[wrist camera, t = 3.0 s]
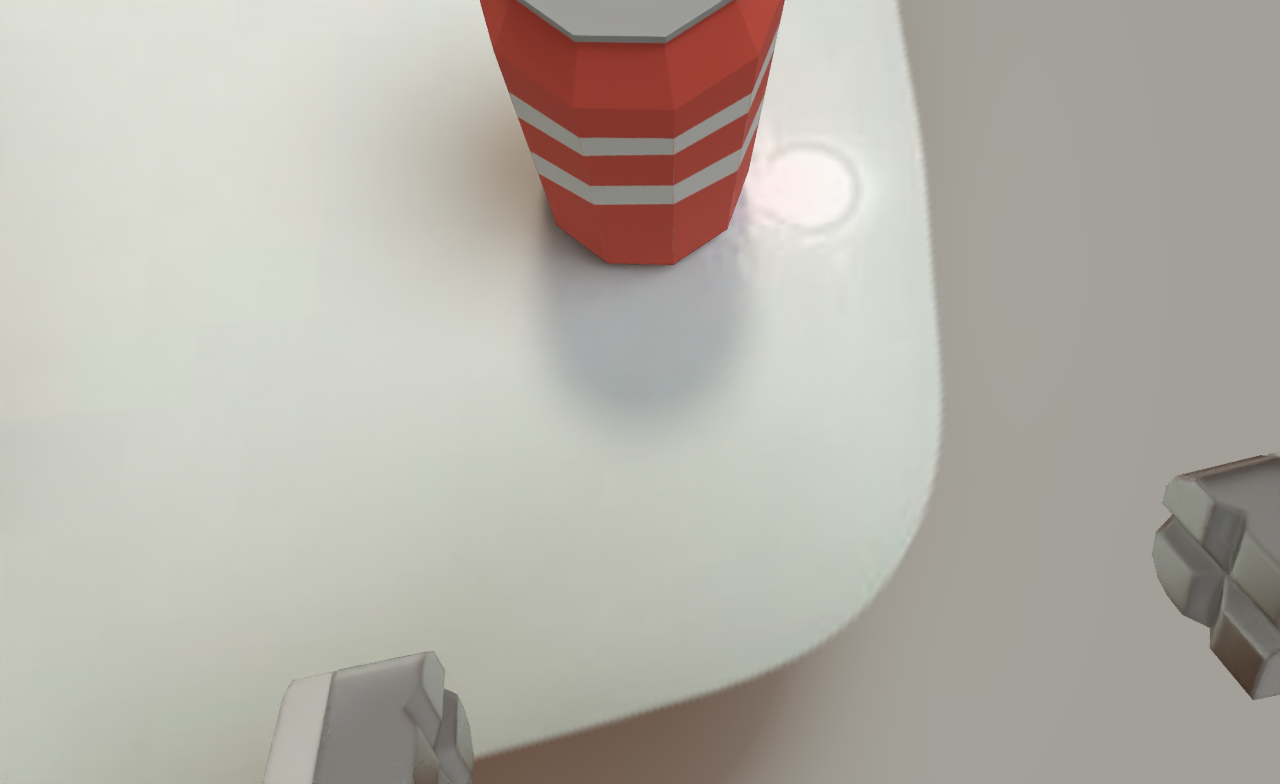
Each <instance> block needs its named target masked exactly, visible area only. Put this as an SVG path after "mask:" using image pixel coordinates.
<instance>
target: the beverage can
mask: <svg viewBox="0 0 1280 784" xmlns="http://www.w3.org/2000/svg"><path fill="white" fill-rule="evenodd" d="M784 1H785V0H480V3H481V7H482V10H483V14H484V17H485V21H486V25H487V28H488V32H489V35H490V39H491V43H492V46H493V50H494V53H495V56H496V58H497V61H498V64H499V67H500V69H501V72H502V75H503V78H504V80H505V83H506V86H507V89H508V92H509V94H510V97H511V100H512V103H513V105H514V108H515V111H516V114H517V116H518V119H519V122H520V125H521V127H522V130H523V133H524V136H525V138H526V141H527V144H528V147H529V149H530V152H531V155H532V158H533V160H534V163H535V166H536V169H537V171H538V174H539V177H540V180H541V182H542V185H543V188H544V191H545V193H546V196H547V199H548V202H549V204H550V207H551V210H552V213H553V215H554V218H555V221H556V224H557V226H559V227H560V228H561V229H563V230H564V231H565V232H567V233H568V234H569V235H571V236H572V237H573V238H575V239H576V240H577V241H579V242H580V243H581V244H583V245H584V246H585V247H587V248H588V249H589V250H591V251H592V252H593V253H595V254H596V255H597V256H599V257H600V258H601V259H603V260H604V261H605V262H607V263H619V264H658V265H674V264H675V263H677V262H678V261H680V260H681V259H683V258H684V257H686V256H687V255H689V254H690V253H692V252H693V251H695V250H696V249H698V248H699V247H701V246H702V245H704V244H705V243H707V242H708V241H710V240H712V239H713V238H715V237H716V236H718V235H719V234H721V233H722V232H724V231H725V230H727V228H728V225H729V223H730V220H731V217H732V214H733V212H734V209H735V206H736V203H737V201H738V198H739V195H740V192H741V190H742V187H743V184H744V182H745V179H746V176H747V173H748V170H749V166H750V161H751V156H752V151H753V147H754V142H755V137H756V133H757V128H758V123H759V119H760V114H761V109H762V104H763V100H764V95H765V90H766V86H767V81H768V76H769V71H770V67H771V62H772V57H773V53H774V48H775V43H776V38H777V34H778V29H779V24H780V20H781V15H782V10H783V6H784Z"/></svg>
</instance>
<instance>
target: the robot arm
mask: <svg viewBox="0 0 1280 784" xmlns="http://www.w3.org/2000/svg"><path fill="white" fill-rule="evenodd" d="M1162 503H1163V504H1164V506H1165V507H1166V508H1167V509H1168V510H1169V511H1170V512H1171V513H1172V514H1173V515H1172V516H1171V517H1170V518H1169V519H1168V520H1167V521H1166V522H1165V523H1164V524H1163V525H1162V526H1161V527H1160V528H1159V530H1158V531H1157V532H1156V534H1155V540H1154V547H1153V552H1152V556H1153V559H1154V564H1155V568H1156V572H1157V576H1158V579H1159V581H1160V583H1161V585H1162V586H1163V588H1164V590H1165V592H1166V594H1167V596H1168V597H1169V598H1170V600H1171V601H1172V602H1173V604H1174V605H1175V606H1176V607H1177V608H1178V610H1179V611H1180V612H1181V613H1182V615H1184V616H1186V617H1188V618H1190V619H1193V620H1194V621H1196V622H1199V623H1201V624H1203V625H1205V626H1207V627H1209V628H1210V649H1211V650H1212V651H1213V652H1214V654H1215V655H1216V656H1217V657H1218V658H1219V660H1220V661H1221V662H1222V663H1223V665H1224V666H1225V667H1226V668H1227V669H1228V671H1229V672H1230V673H1231V674H1232V675H1233V677H1234V678H1235V679H1236V680H1237V681H1238V682H1239V684H1240V685H1241V686H1242V687H1243V688H1244V690H1245V691H1246V692H1247V693H1248V695H1249V696H1250V697H1251V698H1252V699H1253V700H1256V699H1261V698H1266V697H1271V696H1276V695H1280V452H1276V453H1272V454H1268V455H1266V456H1262V455H1260V456H1256V457H1252V458H1248V459H1244V460H1240V461H1236V462H1231V463H1227V464H1224V465H1220V466H1215V467H1211V468H1207V469H1203V470H1199V471H1195V472H1191V473H1187V474H1183V475H1179V476H1175V477H1174V479H1173V480H1172V481H1171V482H1170V483H1169V484H1168V485H1167V486H1166V490H1165V494H1164V498H1163V502H1162ZM444 673H445V670H444V668H443V666H442V664H441V663H440V661H439V659H438V657H437V656H436V654H435V652H434V651H432V652H423V653H418V654H413V655H408V656H403V657H399V658H394V659H389V660H384V661H379V662H374V663H369V664H364V665H360V666H355V667H350V668H345V669H340V670H337V671H333V672H328V673H323V674H319V675H314V676H309V677H305V678H300V679H296V680H293V681H292V682H291V684H290V685H289V687H288V688H287V690H286V691H285V693H284V695H283V698H282V702H281V706H280V710H279V714H278V718H277V723H276V727H275V731H274V735H273V739H272V743H271V748H270V752H269V756H268V760H267V764H266V769H265V773H264V777H263V781H262V784H471V782H472V781H473V748H472V740H471V732H470V726H469V723H468V719H467V716H466V713H465V709H464V707H463V705H462V703H461V701H460V699H459V697H458V695H457V694H455V693H453V692H451V691H448V690H446V689H444Z"/></svg>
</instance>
